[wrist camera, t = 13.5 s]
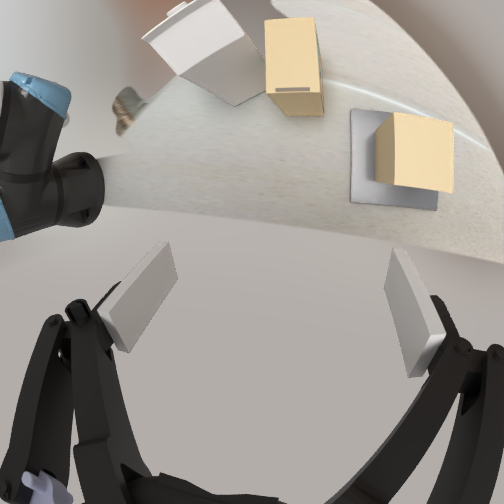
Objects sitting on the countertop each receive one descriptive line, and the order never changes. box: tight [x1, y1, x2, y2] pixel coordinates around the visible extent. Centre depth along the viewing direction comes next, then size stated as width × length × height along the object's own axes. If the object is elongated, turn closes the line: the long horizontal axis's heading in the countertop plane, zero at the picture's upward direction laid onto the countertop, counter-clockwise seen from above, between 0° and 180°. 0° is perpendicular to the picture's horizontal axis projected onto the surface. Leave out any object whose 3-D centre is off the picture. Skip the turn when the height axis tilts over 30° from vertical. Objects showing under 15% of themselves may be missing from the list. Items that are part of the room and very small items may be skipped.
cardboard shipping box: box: [265, 17, 324, 117], centre depth 25 cm, size 5×9×11 cm, turn 0°
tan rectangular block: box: [375, 112, 454, 193], centre depth 24 cm, size 6×6×11 cm
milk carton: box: [142, 0, 266, 106], centre depth 23 cm, size 7×7×19 cm
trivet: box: [350, 109, 438, 211], centre depth 29 cm, size 12×12×1 cm
